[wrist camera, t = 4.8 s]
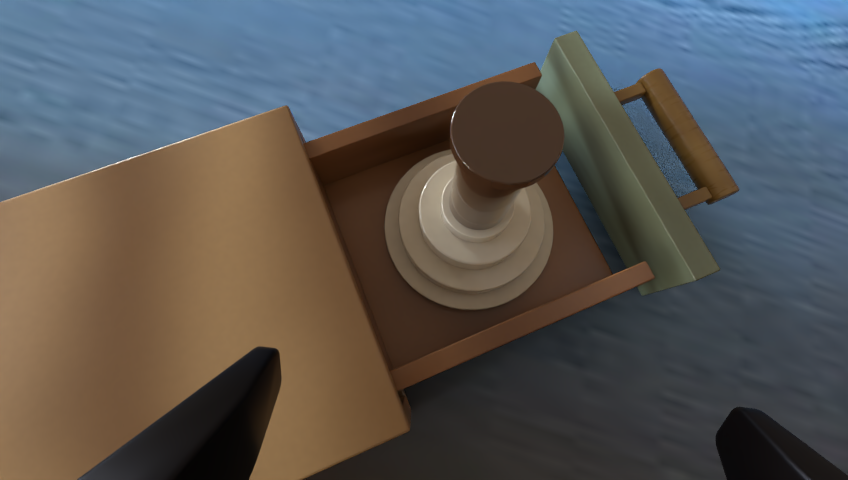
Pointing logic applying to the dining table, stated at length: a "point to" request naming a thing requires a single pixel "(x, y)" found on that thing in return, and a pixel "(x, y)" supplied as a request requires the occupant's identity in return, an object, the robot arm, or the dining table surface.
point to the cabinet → (185, 306)
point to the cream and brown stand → (479, 202)
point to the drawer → (572, 240)
